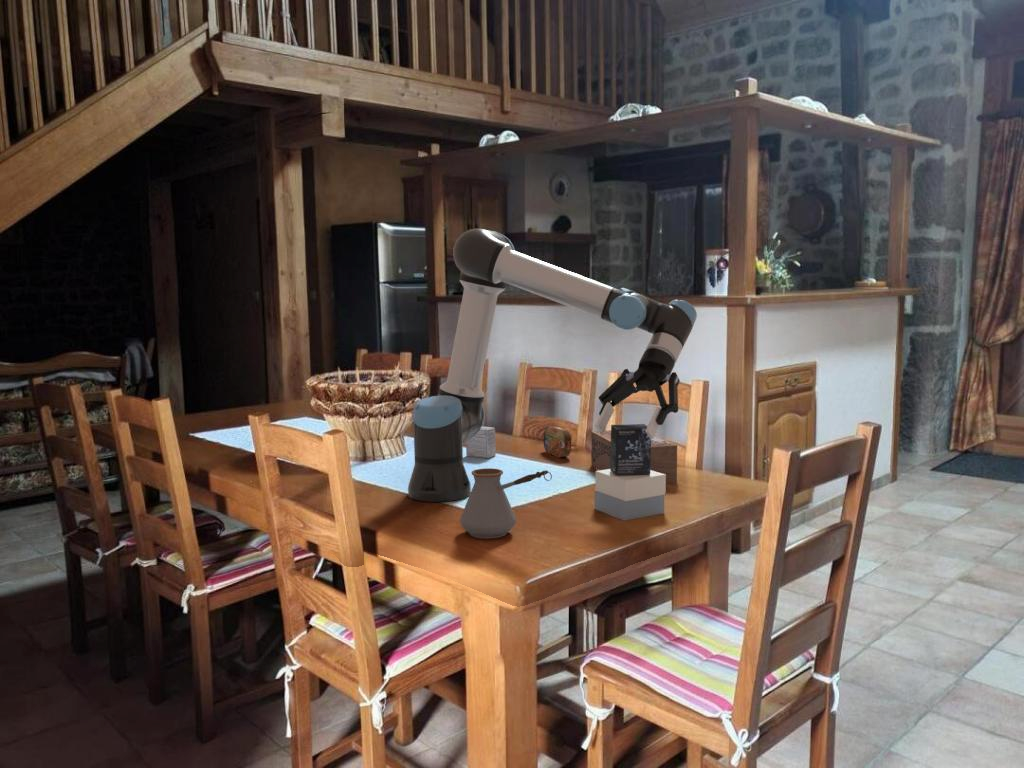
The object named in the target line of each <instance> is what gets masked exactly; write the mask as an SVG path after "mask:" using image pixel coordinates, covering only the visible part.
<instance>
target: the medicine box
mask: <svg viewBox="0 0 1024 768" xmlns="http://www.w3.org/2000/svg"><path fill="white" fill-rule="evenodd" d="M465 449H466V450H465V451H466V452H465V454H466V455H465V456H466V457H473V458H482V459H483V458H484V459H490V458H493V457H496V455H497V454H496V453H497V452H496V451H497V449H496V428H495V427H493V426H492V427H491V426H483V425H482V427H481V429H480V430H479V431H478V432H477V434H476V435H475V436H473V437H471V438H470V439H468V440H465Z"/></svg>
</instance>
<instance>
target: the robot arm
mask: <svg viewBox="0 0 1024 768" xmlns="http://www.w3.org/2000/svg"><path fill="white" fill-rule="evenodd" d="M452 251H453V253H452V257H453V260H454V263H455V265H456V268H458V269H459V271H460V276H459V282H460V284H461V285H462V287H463V293H462V298H461V299H462V300H461V304H460V309H459V314H458V320H457V325H456V331H455V336H454V341H453V346H452V353H451V358H450V363H449V367H448V368H449V369H448V373H447V378H446V379H447V380H446V381H445V382H443V383H442V384H440V385H439V388H438V394H437V395H431V396H429V397H424V398H421V399H419V400H417V401H416V402H415V404H414V406H413V413H412V421H413V449H414V450H413V451H414V452H413V453H414V465H413V469H412V471H411V474H410V478H409V482H408V485H407V486H408V487H407V496H408V497H409V498H410V499H412V500H413V501H415V500H416V501H420V502H428V503H436V502H437V503H439V502H440V503H442V502H444V503H445V502H453V501H458V500H461V499H465V498H467V497H468V498H469V496H470V493H471V491H472V489H471V488H472V487H471V482H470V480H469V476H468V474H467V471H466V468H465V465H464V457H463V455H464V454H463V451H464V450H463V449H464V448H463V444H464V443H463V442H466V440H468V439H470V438H471V437H473V436H475V435H476V434H477V432H478V431H479V430H480V429H481V427H482V426H483V425H484V422H485V417H486V416H485V413H486V412H485V408H484V401H485V400H484V398H485V393H484V391H483V390H482V388H481V384H482V379H483V374H484V369H485V364H486V357H487V353H488V348H489V343H490V337H491V333H492V327H493V323H494V317H495V313H496V308H497V307H496V306H497V301H498V296H499V294H501V293H502V292H504V291H505V290H506V287H507V285H510V286H513V287H515V288H519V289H521V290H523V291H527V292H529V293H531V294H534V295H537V296H540V297H542V298H545V299H547V300H550V301H553V302H556V303H558V304H561V305H564V306H566V307H569V308H572V309H575V310H576V311H579V312H583V313H585V314H588V315H590V316H593V317H595V318H598V319H601V320H603V321H606V322H609V323H610V324H613V325H615V326H616V327H617V328H620V329H622V330H626V331H627V330H633V329H636V328H637V329H640V330H643V331H645V332H647V333H649V334H652V336H651V338H650V340H649V342H648V344H647V346H646V348H645V351H644V353H643V354H642V356H641V358H640V360H639V362H638V368H637V369H636V370H635V371H630V370H629V369H628V368H625V369H624V370H623V371H622V372H621V374H620V376H619V377H618V378H616V379H615V380H614V382H613V383H611V384H610V385H609V386H608V387H607V389H605V390H604V391H603V392H602V393H601V394H600V395H599V396H598V400H599V402H600V403H601V404H602V407H601V408H600V411H599V412H598V415H599V417H598V419H597V421H596V423H595V427H596V429H598V430H597V431H600V432H602V433H603V432H604V431H606V430H605V429H606V428H607V426H608V424H609V422H610V420H611V418H612V416H613V414H614V411H615V409H614V407H616V405H619V404H620V403H622V402H623V401H624V400H625V399H627V398H630V396H631V395H633V394H637V393H638V392H640V391H641V392H646V391H647V392H651V393H653V392H655V395H656V398H657V400H658V402H659V403H658V404H659V406H656V407H655V409H654V412H653V415H652V416H651V418H650V420H649V423H648V425H646V426H647V428H646V433H647V435H648V436H649V438H650V439H653V438H654V436H656V433H657V431H658V429H659V426H663V425H664V423H665V420H666V418H667V417H668V415H669V414H671V413H673V414H676V413H678V412H679V393H678V391H679V390H678V386H679V384H680V378H679V376H678V374H677V372H675V371H673V370H674V368H675V364H676V363H677V361H678V359H679V356H680V355H681V352H682V350H683V348H684V347H685V345H686V342H687V341H688V338H689V336H690V334H691V332H692V331H693V330H692V329H693V327H694V325H695V323H696V320H697V318H698V317H697V316H698V315H697V313H698V312H697V311H696V309H695V307H694V306H693V305H692V304H691V303H690V302H688V301H686V300H683V299H673V300H671V301H670V302H669V303H668V304H665V303H662V302H659V301H657V300H654V299H652V298H650V297H648V296H645V295H643V294H641V293H638V292H636V291H635V290H632V289H628V288H625V287H621V288H615V287H612V286H610V285H608V284H604V283H601V282H600V281H597V280H595V279H592V278H588V277H585V276H583V275H581V274H578V273H575V272H572V271H569V270H567V269H564V268H562V267H560V266H559V267H558V266H556V265H554V264H550V263H548V262H545V261H542V260H540V259H538V258H534V257H531V256H529V255H527V254H525V253H521V252H519V251H516V249H515V246H514V245H513V242H512V241H511V240H510V239H509V238H508V237H507V236H505V235H504V234H503V233H501V232H498V231H495V230H487V229H483V228H473V229H468V230H466V231H464V232H463V233H461V234H460V235H459V236H458V238H457V239H456V241H455V242H454V246H453V250H452ZM666 383H668V402H667V399H666V398H665V394H664V391H663V388H662V387H663V385H664V384H666ZM634 384H635V385H636V386H635V385H634Z"/></svg>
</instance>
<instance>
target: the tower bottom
mask: <svg viewBox="0 0 1024 768" xmlns="http://www.w3.org/2000/svg"><path fill="white" fill-rule="evenodd" d="M594 510H597V511H599V512H602V513H604V514H606V515H610V516H612V517H615V518H617V519H619V520H622V521H627V520H633V519H641V518H645V517H650V516H656V515H662V514H663V515H664V514H665V495H660V496H654V497H648V498H642V499H636V500H630V501H623V500H620V499H618V498H615V497H612V496H609V495H606V494H604V493H601V492H598V491H596V490H594Z"/></svg>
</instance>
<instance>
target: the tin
mask: <svg viewBox="0 0 1024 768" xmlns="http://www.w3.org/2000/svg"><path fill="white" fill-rule="evenodd" d="M542 439H543V442H542V443H543V447H544V448H543V449H544V450H545V452H546V453H547V454H548V453H549V454H548V455H551V454H552V455H551V456H553V455H554V456H553V457H556V458H558V457H559V458H567V457H568V456H570V454H571V452H572V435H571V433H570V431H569V430H568V429H566V428H561V427H560V426H559V427H558V426H554V425H553V426H551V425H550V426H549V425H548V426H546V428H545V429H544V431H543V437H542Z"/></svg>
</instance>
